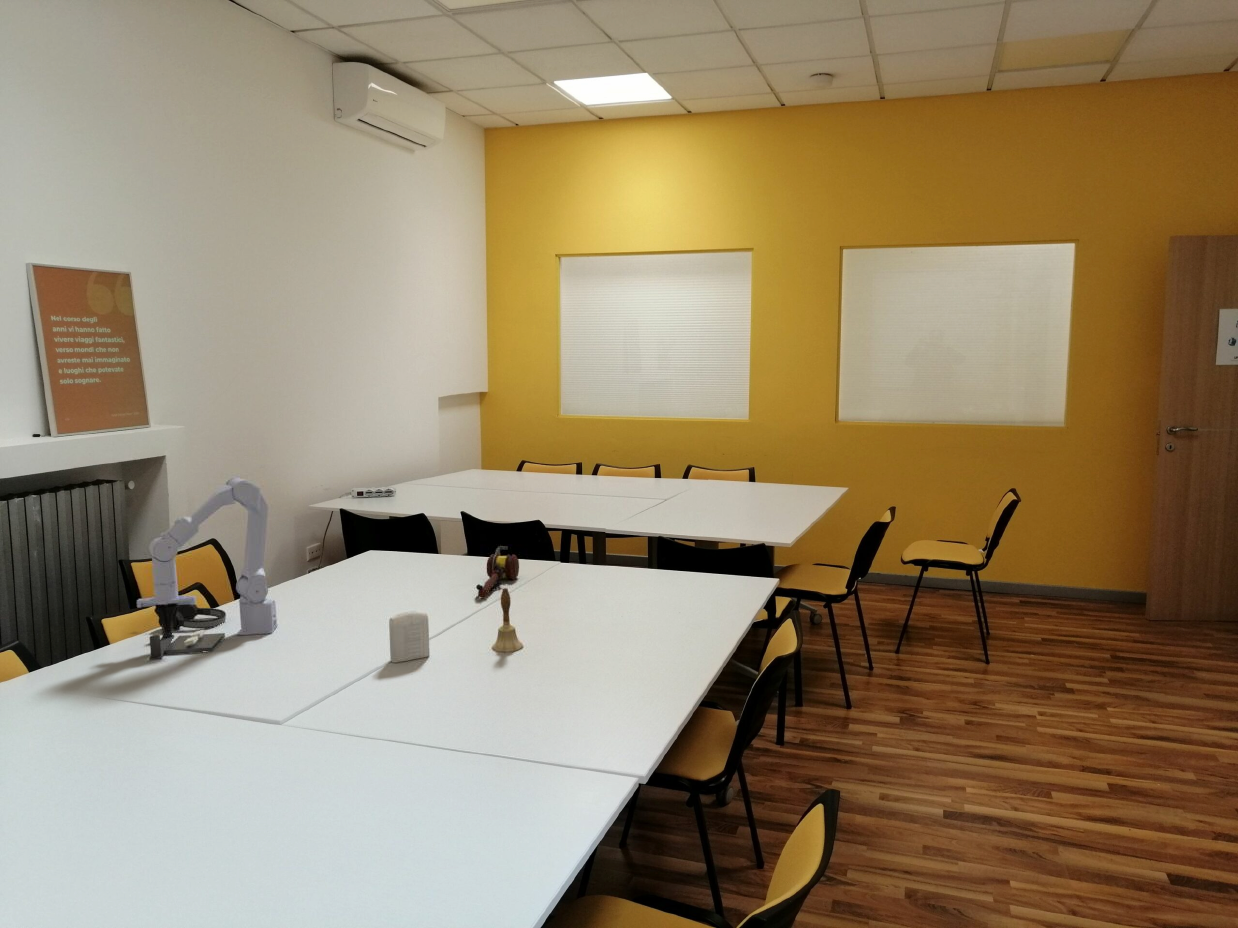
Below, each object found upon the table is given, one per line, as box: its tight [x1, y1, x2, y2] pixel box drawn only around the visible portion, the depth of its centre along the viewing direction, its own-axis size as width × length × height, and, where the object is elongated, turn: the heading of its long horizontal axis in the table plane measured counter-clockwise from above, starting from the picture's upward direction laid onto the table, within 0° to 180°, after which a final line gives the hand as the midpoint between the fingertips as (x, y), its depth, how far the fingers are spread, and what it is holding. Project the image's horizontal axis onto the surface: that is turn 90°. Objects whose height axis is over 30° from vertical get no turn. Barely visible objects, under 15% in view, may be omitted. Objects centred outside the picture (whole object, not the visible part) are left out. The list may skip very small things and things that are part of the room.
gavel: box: [475, 545, 520, 599], centre depth 310 cm, size 10×34×10 cm
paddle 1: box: [184, 636, 198, 646], centre depth 248 cm, size 2×4×1 cm, turn 9°
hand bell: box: [491, 587, 524, 653], centre depth 244 cm, size 8×8×16 cm
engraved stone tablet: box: [388, 610, 430, 664], centre depth 237 cm, size 10×4×12 cm, turn 123°
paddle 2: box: [190, 629, 206, 637], centre depth 254 cm, size 2×4×1 cm, turn 9°
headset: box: [158, 604, 227, 631], centre depth 272 cm, size 14×10×20 cm
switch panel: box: [164, 632, 226, 656], centre depth 251 cm, size 12×13×1 cm
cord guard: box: [148, 624, 175, 662], centre depth 250 cm, size 3×21×6 cm, turn 18°
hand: (169, 631), depth 250 cm, fingers closed
